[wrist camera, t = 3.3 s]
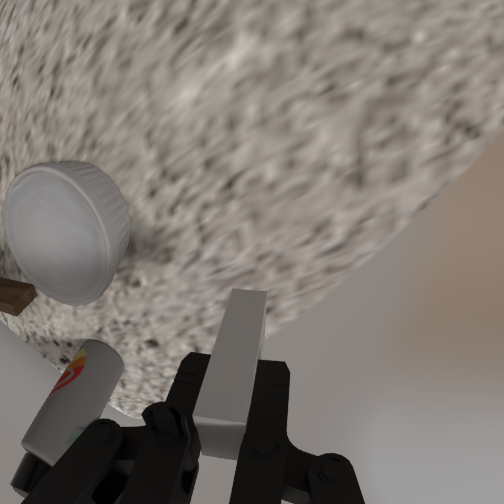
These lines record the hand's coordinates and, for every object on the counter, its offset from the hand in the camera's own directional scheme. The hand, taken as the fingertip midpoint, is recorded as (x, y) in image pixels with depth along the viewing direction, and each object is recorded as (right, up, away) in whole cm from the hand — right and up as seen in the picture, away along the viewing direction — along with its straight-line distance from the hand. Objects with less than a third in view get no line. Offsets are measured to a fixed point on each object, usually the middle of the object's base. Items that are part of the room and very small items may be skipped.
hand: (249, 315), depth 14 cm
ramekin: (-14, +6, +10) cm, 18 cm away
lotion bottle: (-17, -9, +18) cm, 27 cm away
